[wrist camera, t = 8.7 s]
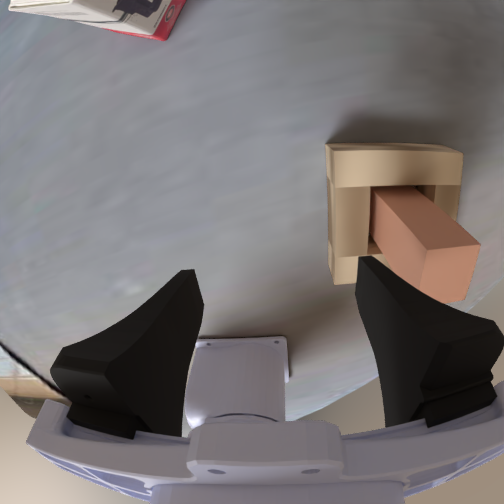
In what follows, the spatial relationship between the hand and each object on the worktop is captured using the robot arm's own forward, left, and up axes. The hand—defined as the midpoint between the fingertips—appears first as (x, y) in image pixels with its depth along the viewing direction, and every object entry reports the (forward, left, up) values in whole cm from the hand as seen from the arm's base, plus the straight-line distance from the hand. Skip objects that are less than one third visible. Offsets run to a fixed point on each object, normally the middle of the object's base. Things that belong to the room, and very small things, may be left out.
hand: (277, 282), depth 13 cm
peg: (+9, -1, -10) cm, 14 cm away
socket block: (+9, -1, -10) cm, 14 cm away
